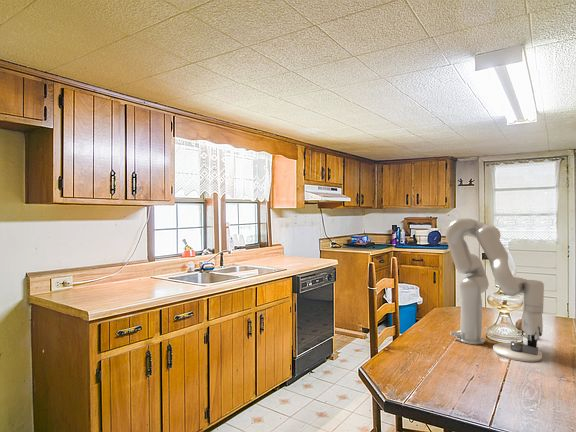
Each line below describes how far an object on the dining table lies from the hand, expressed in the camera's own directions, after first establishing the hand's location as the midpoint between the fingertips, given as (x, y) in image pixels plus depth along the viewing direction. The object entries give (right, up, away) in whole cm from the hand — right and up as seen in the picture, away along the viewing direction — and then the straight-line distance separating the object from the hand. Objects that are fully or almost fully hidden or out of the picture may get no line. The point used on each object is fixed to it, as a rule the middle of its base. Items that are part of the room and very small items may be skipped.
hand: (531, 349), depth 177 cm
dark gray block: (-4, -1, 0) cm, 4 cm away
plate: (-6, -2, +2) cm, 6 cm away
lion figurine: (+13, -2, +30) cm, 33 cm away
